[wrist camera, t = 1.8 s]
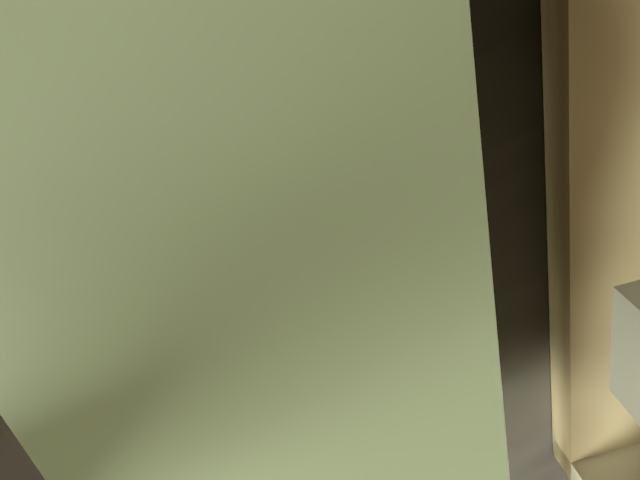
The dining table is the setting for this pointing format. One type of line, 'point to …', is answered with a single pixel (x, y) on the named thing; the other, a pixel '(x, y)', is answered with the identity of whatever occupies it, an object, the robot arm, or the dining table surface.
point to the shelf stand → (590, 222)
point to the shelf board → (246, 241)
